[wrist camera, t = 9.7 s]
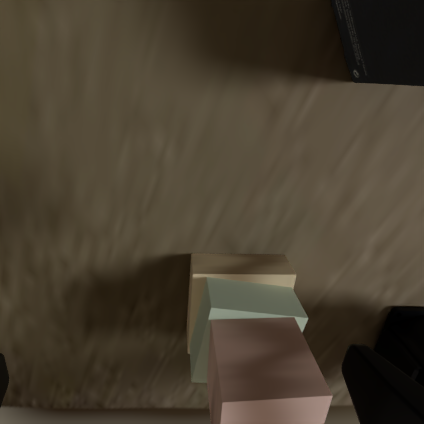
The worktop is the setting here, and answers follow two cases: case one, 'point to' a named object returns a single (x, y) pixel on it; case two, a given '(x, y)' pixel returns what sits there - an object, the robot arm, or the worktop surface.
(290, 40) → the worktop surface
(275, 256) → the beech base block
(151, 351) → the worktop surface
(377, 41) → the small box
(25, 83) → the worktop surface
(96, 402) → the worktop surface
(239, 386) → the rose cube
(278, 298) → the sage top block
